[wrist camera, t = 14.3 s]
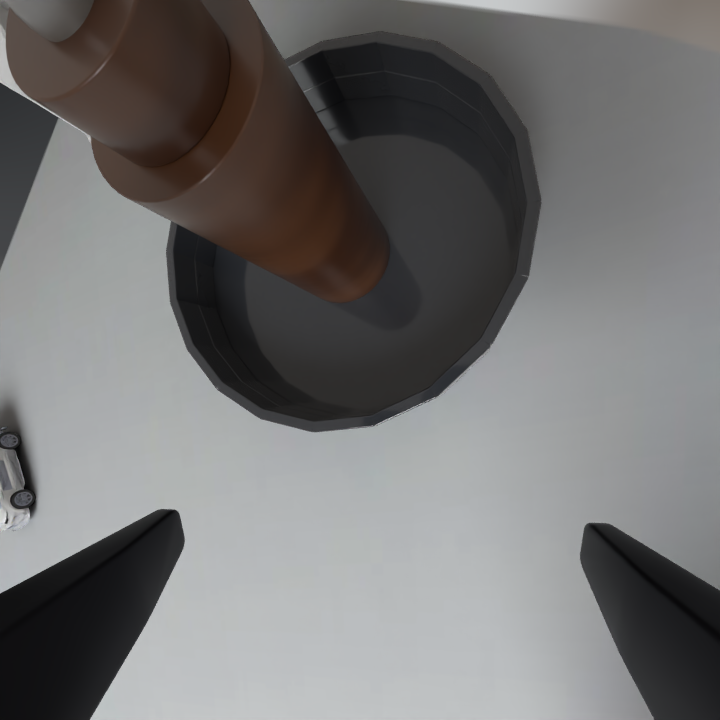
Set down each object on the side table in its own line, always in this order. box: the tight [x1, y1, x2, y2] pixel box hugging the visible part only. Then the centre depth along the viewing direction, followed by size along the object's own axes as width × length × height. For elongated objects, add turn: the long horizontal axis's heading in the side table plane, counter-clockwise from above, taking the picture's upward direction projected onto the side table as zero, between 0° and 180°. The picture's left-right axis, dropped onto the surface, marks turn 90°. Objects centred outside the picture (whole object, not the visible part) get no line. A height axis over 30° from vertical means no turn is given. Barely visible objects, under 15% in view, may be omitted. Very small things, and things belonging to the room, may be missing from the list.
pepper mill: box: [5, 0, 390, 303], centre depth 12 cm, size 5×5×14 cm
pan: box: [166, 32, 541, 432], centre depth 17 cm, size 18×18×4 cm
